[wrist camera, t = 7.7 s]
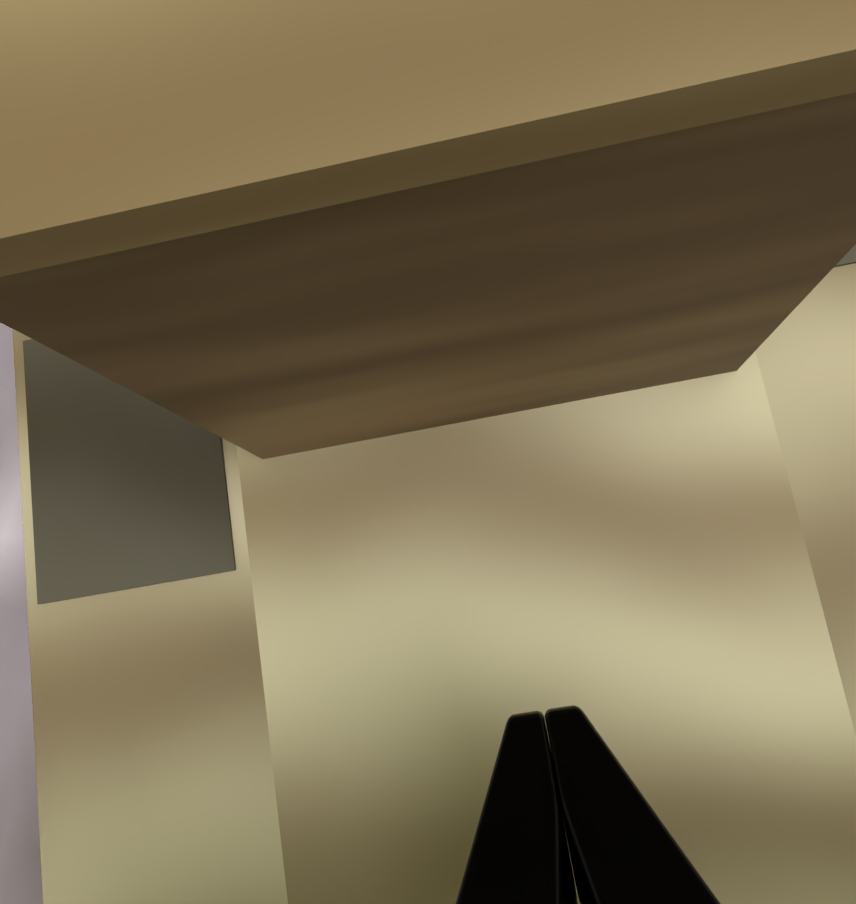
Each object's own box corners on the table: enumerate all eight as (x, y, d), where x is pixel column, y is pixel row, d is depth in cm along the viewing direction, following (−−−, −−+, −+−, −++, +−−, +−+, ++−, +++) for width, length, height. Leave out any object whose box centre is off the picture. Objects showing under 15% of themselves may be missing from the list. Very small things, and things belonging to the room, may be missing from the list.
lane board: (1184, 871, 13) (1453, 983, 10) (64, 1008, 15) (-93, 1148, 11) (800, -283, 19) (872, -514, 15) (2, -74, 21) (-120, -230, 17)
